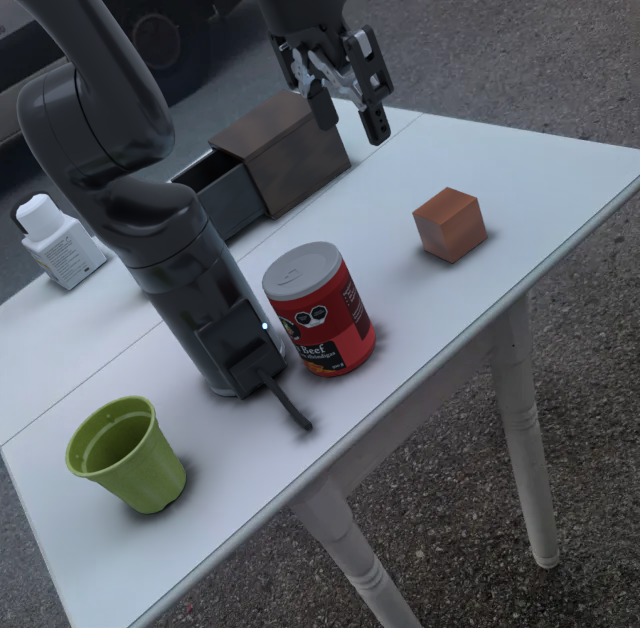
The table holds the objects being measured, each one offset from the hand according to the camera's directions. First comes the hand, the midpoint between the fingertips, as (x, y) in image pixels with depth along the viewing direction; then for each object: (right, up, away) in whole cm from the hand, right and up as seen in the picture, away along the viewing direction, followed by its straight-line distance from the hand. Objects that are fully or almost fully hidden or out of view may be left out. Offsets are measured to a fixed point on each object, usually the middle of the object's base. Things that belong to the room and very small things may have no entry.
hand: (355, 133), depth 70 cm
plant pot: (-19, -35, 0) cm, 40 cm away
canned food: (-1, -21, +3) cm, 22 cm away
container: (-41, -4, +42) cm, 59 cm away
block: (+11, -9, +8) cm, 16 cm away
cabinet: (-7, +6, +33) cm, 34 cm away
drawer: (-18, -1, +31) cm, 35 cm away
